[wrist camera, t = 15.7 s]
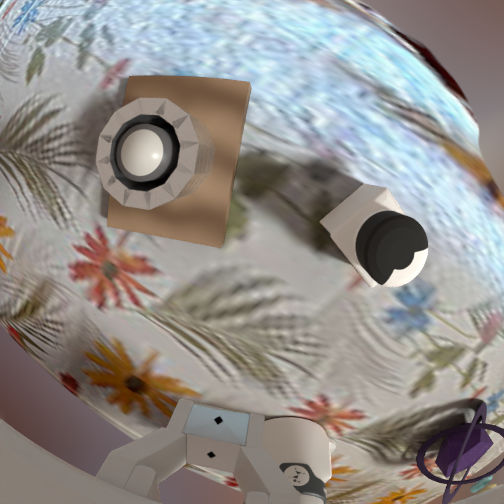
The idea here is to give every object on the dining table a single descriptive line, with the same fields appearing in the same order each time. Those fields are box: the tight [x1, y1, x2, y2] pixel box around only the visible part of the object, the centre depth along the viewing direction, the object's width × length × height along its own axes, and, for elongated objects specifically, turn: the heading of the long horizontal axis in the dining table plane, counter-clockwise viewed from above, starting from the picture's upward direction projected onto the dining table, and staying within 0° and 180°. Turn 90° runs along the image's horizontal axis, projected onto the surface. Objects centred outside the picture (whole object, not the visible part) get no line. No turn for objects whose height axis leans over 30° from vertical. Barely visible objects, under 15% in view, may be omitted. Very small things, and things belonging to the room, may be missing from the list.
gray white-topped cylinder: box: [117, 124, 181, 182], centre depth 25 cm, size 5×5×6 cm
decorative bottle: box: [416, 402, 504, 504], centre depth 30 cm, size 22×21×25 cm
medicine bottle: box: [319, 184, 428, 288], centre depth 27 cm, size 7×7×12 cm
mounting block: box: [107, 76, 251, 248], centre depth 30 cm, size 18×14×2 cm
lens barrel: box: [96, 98, 215, 210], centre depth 26 cm, size 10×10×7 cm
